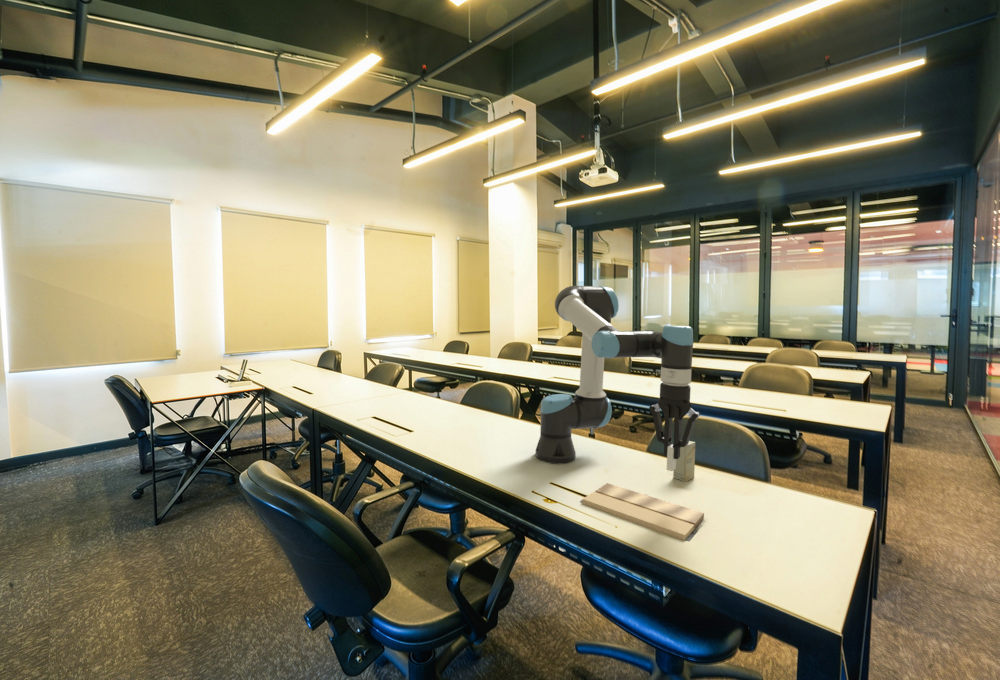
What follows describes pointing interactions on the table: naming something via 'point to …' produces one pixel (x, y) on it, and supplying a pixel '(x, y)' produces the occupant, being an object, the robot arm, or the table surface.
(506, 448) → the table surface
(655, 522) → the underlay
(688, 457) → the skincare box
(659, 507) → the plank
